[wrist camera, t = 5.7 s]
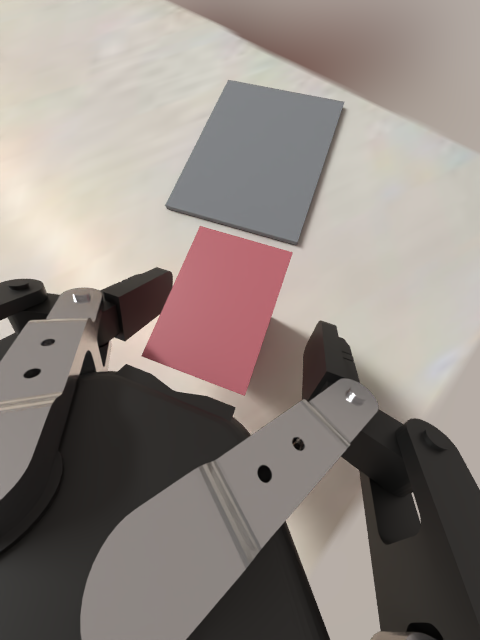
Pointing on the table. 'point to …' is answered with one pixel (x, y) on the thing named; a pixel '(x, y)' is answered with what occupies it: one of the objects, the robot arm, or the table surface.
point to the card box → (219, 309)
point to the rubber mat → (258, 160)
